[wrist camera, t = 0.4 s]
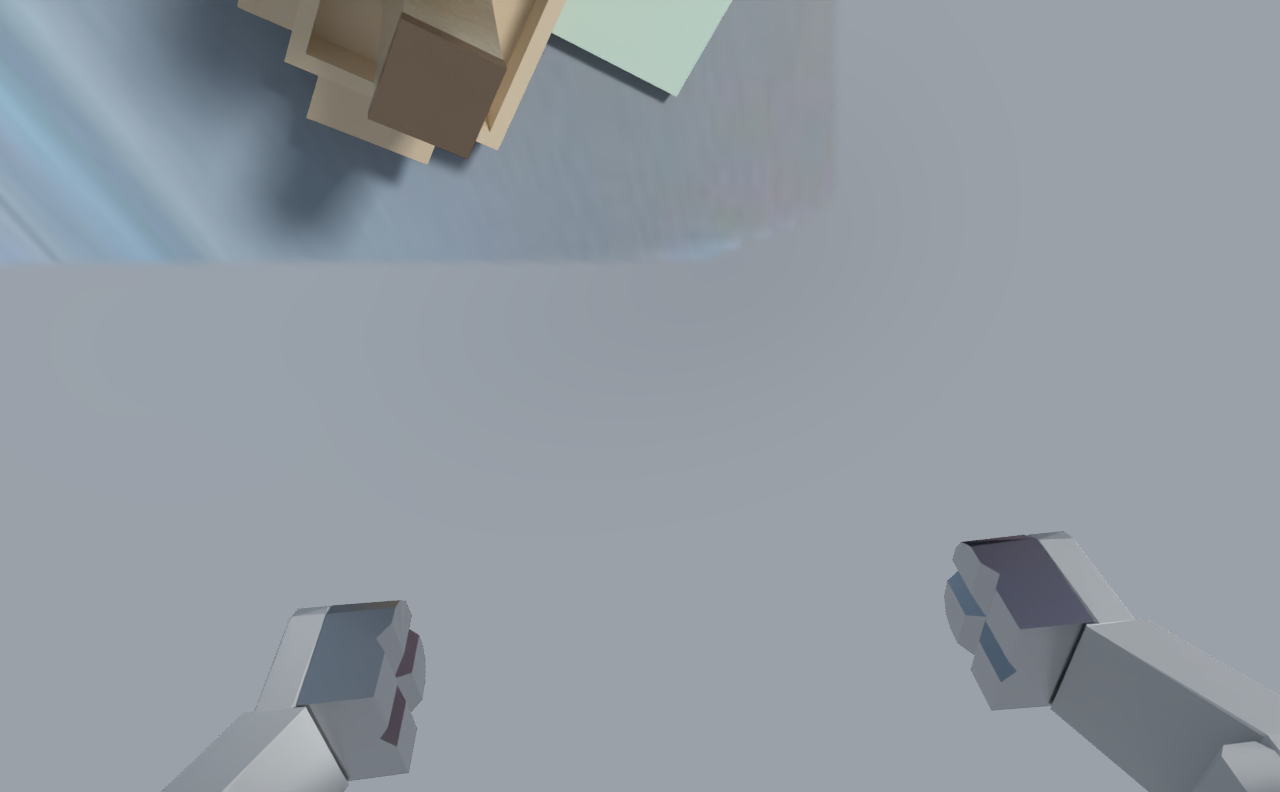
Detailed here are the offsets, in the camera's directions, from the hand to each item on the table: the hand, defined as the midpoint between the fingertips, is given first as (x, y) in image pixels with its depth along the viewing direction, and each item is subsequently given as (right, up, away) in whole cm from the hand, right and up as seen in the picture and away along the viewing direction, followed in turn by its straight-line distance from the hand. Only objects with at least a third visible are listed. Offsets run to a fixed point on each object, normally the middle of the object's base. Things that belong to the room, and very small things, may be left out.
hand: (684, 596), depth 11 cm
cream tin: (-14, +29, +37) cm, 49 cm away
